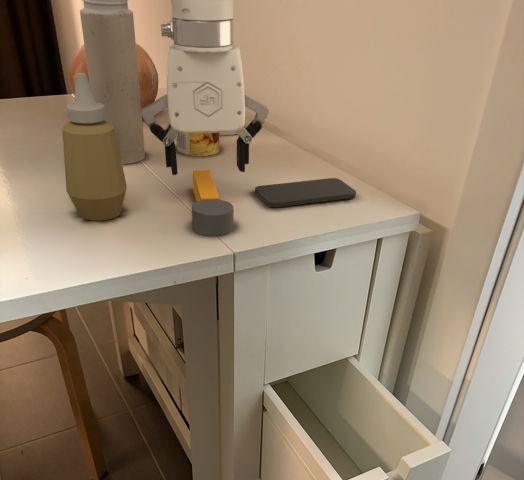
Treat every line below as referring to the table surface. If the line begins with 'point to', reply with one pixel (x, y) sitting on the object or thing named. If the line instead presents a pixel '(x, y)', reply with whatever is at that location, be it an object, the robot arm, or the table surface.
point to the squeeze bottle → (92, 157)
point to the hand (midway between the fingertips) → (207, 170)
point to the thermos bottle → (115, 71)
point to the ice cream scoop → (210, 207)
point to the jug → (145, 74)
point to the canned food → (198, 143)
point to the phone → (304, 192)
